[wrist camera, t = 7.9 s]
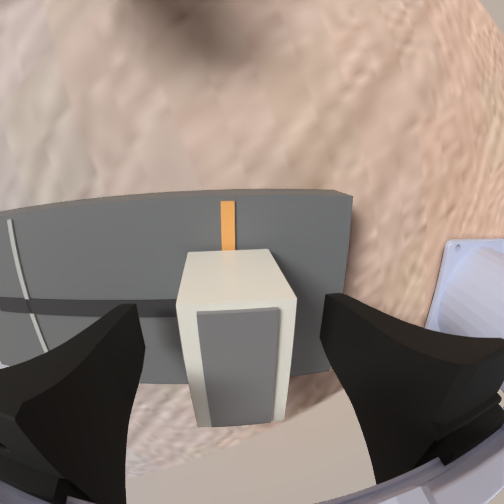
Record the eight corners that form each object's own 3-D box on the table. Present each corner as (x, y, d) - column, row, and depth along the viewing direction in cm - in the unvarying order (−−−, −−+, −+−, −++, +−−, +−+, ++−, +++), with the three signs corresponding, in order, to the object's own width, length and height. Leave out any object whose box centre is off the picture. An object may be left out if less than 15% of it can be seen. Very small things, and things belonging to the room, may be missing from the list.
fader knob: (268, 248, 11) (298, 301, 7) (265, 353, 12) (284, 423, 9) (188, 252, 10) (174, 308, 7) (198, 357, 12) (197, 430, 8)
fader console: (333, 189, 13) (353, 196, 11) (317, 348, 16) (329, 371, 14) (-23, 216, 10) (-45, 225, 8) (14, 347, 13) (1, 364, 11)
